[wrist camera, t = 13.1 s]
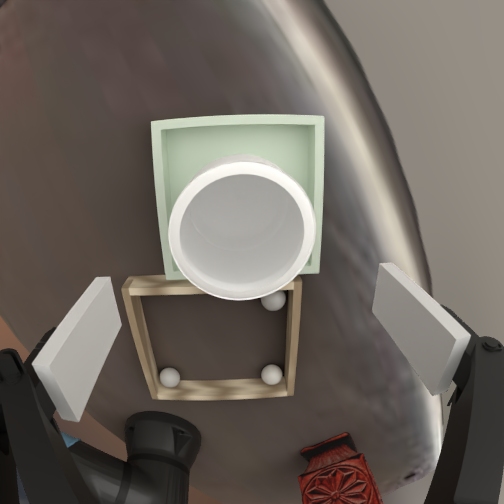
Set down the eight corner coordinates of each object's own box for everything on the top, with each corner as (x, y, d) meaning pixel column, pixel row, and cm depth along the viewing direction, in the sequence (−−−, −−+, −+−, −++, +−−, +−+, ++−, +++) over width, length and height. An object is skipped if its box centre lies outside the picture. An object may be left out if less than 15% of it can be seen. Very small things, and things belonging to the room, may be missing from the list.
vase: (311, 469, 61) (333, 571, 33) (291, 448, 56) (314, 571, 28) (364, 449, 59) (399, 550, 31) (353, 425, 54) (395, 546, 27)
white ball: (163, 377, 46) (160, 391, 43) (159, 363, 45) (155, 377, 42) (182, 377, 46) (180, 392, 43) (179, 363, 45) (176, 377, 42)
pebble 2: (260, 375, 47) (262, 389, 44) (260, 361, 45) (262, 375, 42) (280, 374, 47) (283, 388, 44) (281, 359, 46) (284, 373, 43)
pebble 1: (259, 303, 42) (261, 316, 39) (259, 282, 40) (261, 294, 37) (283, 302, 42) (287, 314, 39) (284, 280, 40) (288, 292, 38)
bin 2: (156, 384, 46) (152, 399, 43) (129, 276, 39) (121, 288, 36) (289, 380, 47) (293, 395, 44) (296, 269, 40) (302, 281, 37)
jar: (249, 131, 33) (262, 129, 19) (300, 203, 36) (341, 250, 22) (174, 186, 35) (137, 223, 21) (227, 253, 38) (225, 324, 24)
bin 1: (171, 267, 39) (166, 279, 36) (158, 122, 32) (151, 121, 29) (312, 261, 40) (318, 273, 36) (315, 117, 33) (324, 116, 30)
